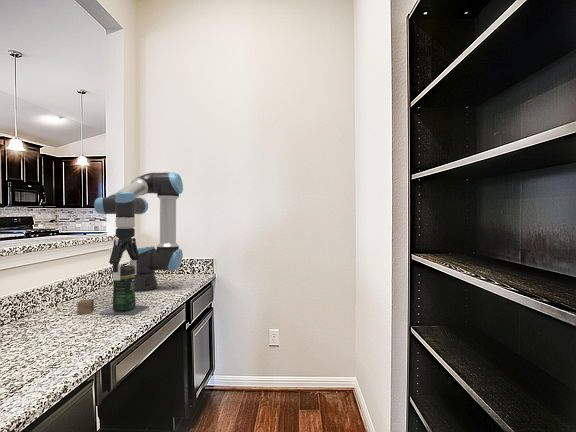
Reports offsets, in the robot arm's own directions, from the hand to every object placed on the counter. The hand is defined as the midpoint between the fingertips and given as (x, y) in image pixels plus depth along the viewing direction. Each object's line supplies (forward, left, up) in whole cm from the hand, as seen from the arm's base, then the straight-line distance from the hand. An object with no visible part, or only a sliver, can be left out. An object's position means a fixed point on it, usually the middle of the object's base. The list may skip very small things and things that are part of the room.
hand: (125, 277), depth 156 cm
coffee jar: (0, 0, -14) cm, 14 cm away
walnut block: (+4, -15, -14) cm, 21 cm away
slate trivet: (0, 0, -14) cm, 14 cm away
